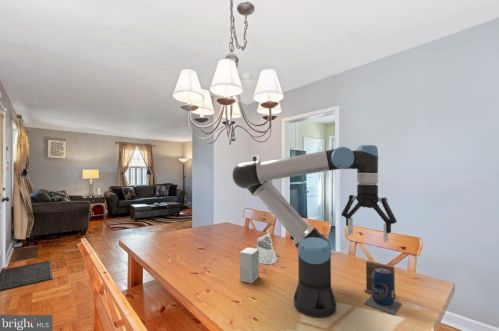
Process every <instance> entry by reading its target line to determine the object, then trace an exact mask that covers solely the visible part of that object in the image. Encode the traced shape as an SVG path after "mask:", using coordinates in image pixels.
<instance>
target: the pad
mask: <svg viewBox="0 0 499 331" xmlns="http://www.w3.org/2000/svg"><path fill="white" fill-rule="evenodd" d="M363 305H365V306H367V307H370V308H372V309H375V310H378V311H380V312H384V313H386V314H389V315H392V316H396V314H397V312H398V311H399V309H400V308H401V306H402V305H403V303H402V302H401V301H397V300H395V299H394V302H393V304H392V305H391V306H389V307H384V306H380V305H378V304H376V303H375V301H374V300H373V298H372V295H371V294H370V296H369V297H368V298H367V300H366V301H365V302H364V304H363Z"/></svg>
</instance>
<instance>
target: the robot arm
mask: <svg viewBox="0 0 499 331" xmlns="http://www.w3.org/2000/svg"><path fill="white" fill-rule="evenodd" d="M336 170H356V171H357V172H356V173H357V174H356V183H357V184H356V192H357V193H356V195H354V194H349V196H348V201H347V203H346V205H345V206H344V208H343V210H342V213H341V216H342V217H344V218H345V226H347V236H349V235H350V236H351V235H353V234H354V233H353V230H354V229H353V228H354V227H353V226H354V225H353V217H352V216H353V215H355V213H356V212H357V211H358V210H359V209H361V207H362V208H368V209H371V208H372V209H373V210H374V211H375V212H376V213H377V214H378V216H379V217H380V218H381V219H382V221H383V222H384V223H383V243H387V242H389V234H391V232H392V224H396V223H397V221H398V220H397V219H396V217H395V215H394V213H393V211H392V209H391V207H390V205H389V203H388V198H387V197H379V185H378V183H379V149H378V146H376V145H373V144H365V145H364V144H363V145H358V146H357V147H356V150H351V149H350V148H349V147H345V146H340V147H337V148H333V149H329V150H323V151H317V152H312V153H311V152H310V153H306V154H299V155H294V156H289V157H285V158H279V159H273V160H267V161H263V162H262V161H261V160H259V159H258V160H253V161H242V162H239V163H238V164H236V166H235V167H234V168H233V170H232V180H233V182H234V184H235V185H236V186H237V187H238V188H241V189H247V191H249V193H250V194H251V195H252V196H254V197H258V198H259V200H261V202H262V203H263V204H264V205H265V206H266V208H267V209H268V210H269V211H270V213H271V214H272V215H273V216H274V217H275V218H276V219H277V221H278V222H279V223H280V224H281V225H282V227H284V229H285V230H286V231H287V232H288V233H289V235H290V236H291V237H292V238H293V245H294V246H295V247H296V249H297V255H298V258H297V260H298V262H297V264H298V267H297V269H298V281H297V286H296V289H295V292H294V295H293V306H294V308H295V309H296V310H297V311H298V312H299V313H301V314H303V315H306V316H309V317H313V318H327V317H331V316H334V315H335V313H336V312H337V300H336V298H335V295H334V292H333V289H332V263H331V262H332V257H331V256H332V246H331V243H330V241H329V240H330V239H328V237H327V236H325V235H324V233H321V232H320V231H319V230H318V229H317V228H316V227H315V226H313V225H309V224H308V223H307V222H306V221H305V219H304V218H303V217H302V216H301V215H300V214H299V212H298V211H296V209H295V208H294V207H293V206H292V205H291V204H290V202H289V201H288V200H287V199H286V198H285V197H284V196H283V195H282V193H281V192H280V191H279V190H278V189H277V188H276V187H275V185H274V184H273V180H278V179H279V180H280V179H285V178H291V177H298V176H303V175H310V174H315V173H322V172H328V171H329V172H330V171H336ZM356 200H357V203H356V204H355V206H354V207H352V205H353V204H354V202H355V201H356ZM379 202H380V204H381V205H382V207H383V210H384V211H385V212H384V211H383V210H382V209H381V206H380V205H379V204H378V203H379Z"/></svg>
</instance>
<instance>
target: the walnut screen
mask: <svg viewBox="0 0 499 331" xmlns="http://www.w3.org/2000/svg"><path fill="white" fill-rule="evenodd" d="M365 262H366V263H365V265H366V266H365V267H366V268H365V272H366V276H365V277H366V278H365V279H366V280H365V281H366V283H365V284H366V289H365V290H364V293H365V294H369V295H370V296H371V295H372V272H373V271H374V268H376V267H382V268H386V269H389V270H390V271H391V273H392V275H393V297H394V300H395V299H396V297H397V294H396V292H395V291H396V290H395V288H396V286H395V285H396V283H395V282H396V281H395V280H396V279H395V266H390V265H387V264H382V263H379V262H375V261H374V262H373V261H370V260H367V261H365Z"/></svg>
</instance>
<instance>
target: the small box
mask: <svg viewBox="0 0 499 331" xmlns="http://www.w3.org/2000/svg"><path fill="white" fill-rule="evenodd" d="M259 257H260V249H259V248H254V247H245V248H244V249H243V250H240V252H239V281H240V282H244V283H248V284H254V282H255V281H257V279H258V278H259V277H260V268H259V266H260V258H259Z"/></svg>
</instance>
